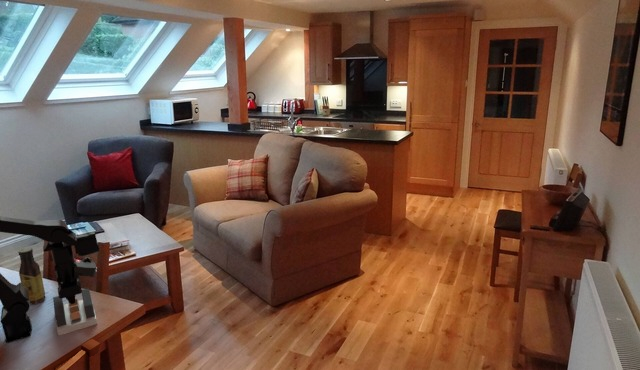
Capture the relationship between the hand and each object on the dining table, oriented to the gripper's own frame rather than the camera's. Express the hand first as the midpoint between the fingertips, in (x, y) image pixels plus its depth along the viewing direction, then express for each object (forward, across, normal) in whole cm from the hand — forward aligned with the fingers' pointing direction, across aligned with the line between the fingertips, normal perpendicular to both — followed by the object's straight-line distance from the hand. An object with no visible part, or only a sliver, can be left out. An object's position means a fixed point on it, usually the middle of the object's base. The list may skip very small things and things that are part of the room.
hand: (73, 303), depth 145 cm
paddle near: (+3, -4, 0) cm, 6 cm away
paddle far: (+3, +4, 0) cm, 6 cm away
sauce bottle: (+6, +20, +11) cm, 24 cm away
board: (+6, 0, 0) cm, 6 cm away
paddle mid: (+3, 0, 0) cm, 3 cm away
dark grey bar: (+4, 0, +4) cm, 5 cm away
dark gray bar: (+4, 0, -4) cm, 5 cm away
